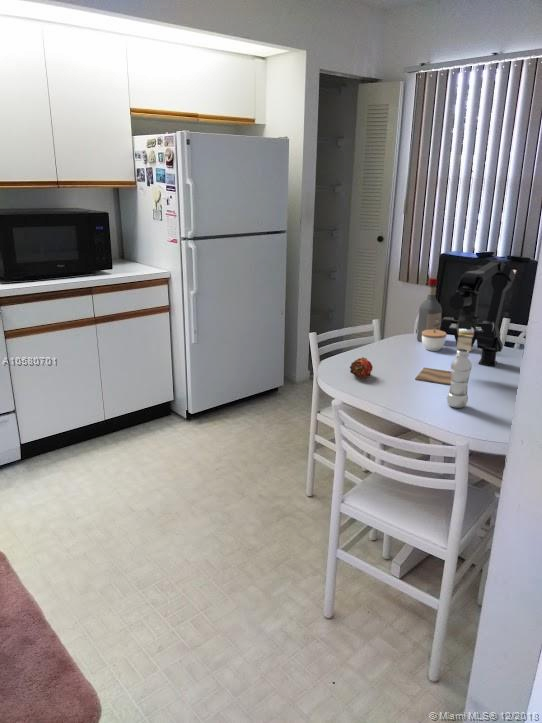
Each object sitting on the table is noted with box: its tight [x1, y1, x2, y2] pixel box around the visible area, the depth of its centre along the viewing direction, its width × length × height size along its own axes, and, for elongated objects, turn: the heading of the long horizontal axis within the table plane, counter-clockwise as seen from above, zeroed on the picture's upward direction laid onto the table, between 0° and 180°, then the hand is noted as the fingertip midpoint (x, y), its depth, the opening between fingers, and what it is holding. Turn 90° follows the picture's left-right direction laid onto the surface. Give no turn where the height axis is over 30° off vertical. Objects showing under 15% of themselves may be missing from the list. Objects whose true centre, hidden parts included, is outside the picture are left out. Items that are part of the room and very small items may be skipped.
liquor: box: [416, 277, 443, 343], centre depth 250 cm, size 9×9×30 cm
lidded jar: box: [421, 329, 447, 352], centre depth 241 cm, size 11×11×9 cm
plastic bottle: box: [446, 349, 473, 409], centre depth 178 cm, size 6×7×20 cm
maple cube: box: [456, 334, 473, 352], centre depth 204 cm, size 5×5×5 cm
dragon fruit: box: [349, 356, 374, 379], centre depth 208 cm, size 8×8×12 cm
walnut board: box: [415, 367, 451, 386], centre depth 208 cm, size 14×14×1 cm
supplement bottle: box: [459, 327, 475, 351], centre depth 238 cm, size 7×7×13 cm
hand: (464, 345), depth 205 cm, fingers closed on maple cube, 5 cm apart
